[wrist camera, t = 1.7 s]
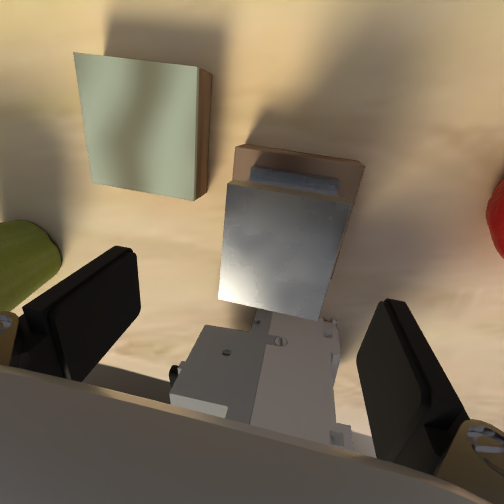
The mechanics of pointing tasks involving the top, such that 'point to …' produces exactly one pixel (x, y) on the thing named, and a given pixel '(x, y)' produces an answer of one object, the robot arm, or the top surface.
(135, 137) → the stand
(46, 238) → the plant pot
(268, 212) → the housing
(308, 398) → the circuit breaker
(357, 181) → the stand
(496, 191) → the pomegranate
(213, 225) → the top surface
